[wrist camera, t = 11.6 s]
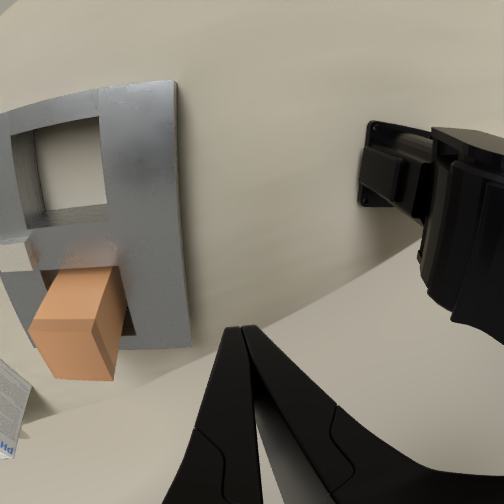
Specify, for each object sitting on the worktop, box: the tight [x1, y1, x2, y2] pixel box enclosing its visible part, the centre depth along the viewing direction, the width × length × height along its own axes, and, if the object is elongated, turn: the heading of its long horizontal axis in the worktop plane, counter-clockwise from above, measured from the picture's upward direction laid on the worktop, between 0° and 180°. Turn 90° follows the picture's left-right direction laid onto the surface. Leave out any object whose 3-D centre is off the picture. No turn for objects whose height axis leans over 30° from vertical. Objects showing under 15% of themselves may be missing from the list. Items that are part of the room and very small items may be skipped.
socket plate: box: [0, 80, 192, 350], centre depth 17 cm, size 14×18×4 cm
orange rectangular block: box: [28, 266, 128, 381], centre depth 17 cm, size 4×4×8 cm
